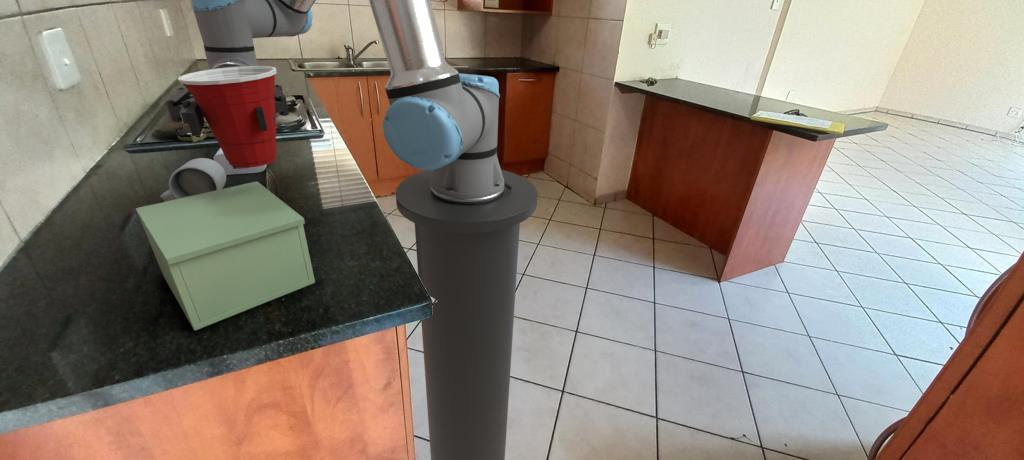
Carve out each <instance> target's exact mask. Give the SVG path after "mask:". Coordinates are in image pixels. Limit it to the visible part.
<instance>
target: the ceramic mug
mask: <svg viewBox="0 0 1024 460" xmlns="http://www.w3.org/2000/svg"><path fill="white" fill-rule="evenodd" d="M168 179H169V180H168V189H167V190H165V191H164V192H163V193H162V194H161V195H160V196H159V197H160V199H161V200H162V202H166V201H171V200H175V199H180V198H184V197H189V196H193V195H198V194H202V193H207V192H211V191H216V190H220V189H224V188H225V185H226V183H227V175H226V173H225V170H224V169H223V167H222V166H221V165H220V164H219V163H217V162H216V161H214V159H211V158H207V157H198V158H193V159H191V160H188V161H187V162H185V164H183V165H182V166H180V167H178V168H177V169H176V170H174V171H173V172H172V174H170V177H169V178H168Z"/></svg>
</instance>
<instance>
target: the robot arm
mask: <svg viewBox="0 0 1024 460" xmlns="http://www.w3.org/2000/svg"><path fill="white" fill-rule="evenodd" d="M316 1H317V0H190V6H191V9H192V10H193V14H194V18H195V20H196V24H197V28H198V30H199V32H200V37H201V40H202V43H203V49H204V54H205V58H206V61H207V66H208V68H209V69H208V70H211V69H219V68H229V67H241V66H259V63H258V59H257V56H256V51H255V46H254V45H255V44H254V39H262V38H281V37H284V38H285V37H286V38H288V37H289V38H290V37H291V38H293V37H297V36H299V35H304V34H306V33H308V32H309V31H310V30H311V28H312V25H313V19H314V17H313V11H312V9H311V8H312V7H313V6H314V4H315V3H316ZM368 2H369V5H370V9H371V11H372V14H373V19H374V22H375V25H376V29H377V32H378V34H379V39H380V42H381V46H382V49H383V51H384V55H385V59H386V61H387V65H388V68H389V72H390V76H389V77H388V80H387V82H386V84H385V86H384V90H385V93H386V96H387V100H388V104H389V106H388V108H387V109H386V111H385V116H384V118H383V119H382V132H383V135H384V138H385V141H386V143H387V145H388V147H389V148H390V151H392V153H393V154H394V155H395V157H397V158H398V159H399V160H400V161H402V162H405V163H406V164H407V165H408V166H410V167H411V168H414V169H416V170H421V171H426V170H434V171H433V174H432V177H431V183H430V189H431V194H432V195H433V196H434V197H435V198H437V199H439V200H441V201H444V202H447V203H451V204H457V205H480V204H485V203H489V202H493V201H495V200H497V199H499V198H500V197H502V196H503V194H504V190H505V187H506V188H508V189H509V190H511V189H512V186H511V185H510V184H508V183H507V182H505V181H504V178H503V175H502V171H501V170H502V168H501V165H500V162H499V159H498V135H499V134H498V133H499V132H498V131H499V106H500V105H499V103H500V98H501V94H500V92H499V91H500V90H499V89H500V87H499V81H498V79H497V78H495V77H494V76H489V75H481V74H470V73H469V74H468V73H460V72H459V70H457V69H456V68H454V67H453V66H452V65H450V64H449V63H448V61H447V60H446V57H445V53H444V49H443V45H442V41H441V37H440V33H439V29H438V25H437V21H436V16H435V12H434V8H433V5H432V1H431V0H368ZM274 88H275V95H274V96H275V115H276V114H279V115H280V116H283V117H286V116H288V115H290V112H289V111H290V110H289V106H288V102H287V101H288V100H287V97H286V95H285V94H284V91H283V87H282V85H280V84H275V86H274ZM175 90H176V93H174V94H172V96H171V97H169V98H168V99H167V100H165V101H164V103H165V105H166V109H167V111H168V115H169V117H170V121H171V122H173V123H179V122H183V123H184V124H189V127H190V130H191V133H192V136H200V135H201V132H202V129H204V128H203V126H204V124H205V121H204V118H205V117H204V115H203V113H202V111H201V109H200V107H199V105H198V103H197V102H196V101H195V100H194V98H193V96H192V94H190V92H189V91H188V89H187V88H186V87H183V86H181V87H177V88H176V89H175ZM256 113H257V118H258V122H259V126H260V130H261V131H267V124H266V120H265V116H264V111H263V107H257V108H256ZM275 115H274V116H273V119H275Z"/></svg>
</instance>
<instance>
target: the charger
mask: <svg viewBox="0 0 1024 460" xmlns="http://www.w3.org/2000/svg"><path fill="white" fill-rule="evenodd" d="M213 160H214V161H216V162H217V163H219V164H220V165H221V166H222V167H223V169H224V170H225V173H226V176H228V175H229V176H230V175H241V174H242V175H243V174H254V173H255V174H256V173H257V174H258V173H263V172H264V171H265V170H266V168H267V165H263V166H258V167H250V168H240V167H234V166H232V165H230V164H229V162H228V160H226V158H225V155H224V153H223V151H222V149H221V147H220V148H219V149H218V150H217V152H216V153H215V154H214V156H213Z"/></svg>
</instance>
